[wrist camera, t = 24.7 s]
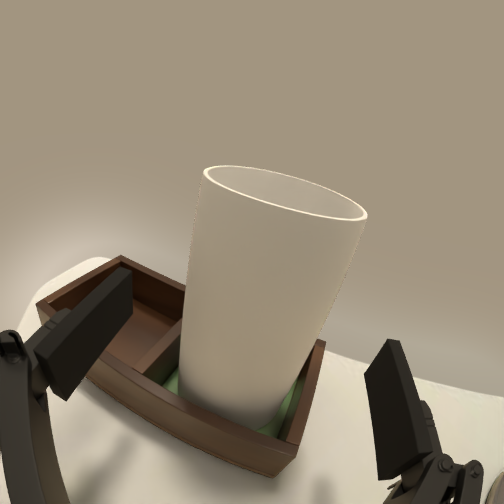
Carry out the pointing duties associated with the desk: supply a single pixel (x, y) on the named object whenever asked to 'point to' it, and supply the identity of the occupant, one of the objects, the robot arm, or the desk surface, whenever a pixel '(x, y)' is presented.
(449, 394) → the desk surface
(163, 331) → the holder
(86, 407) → the desk surface
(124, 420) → the desk surface
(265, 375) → the cup
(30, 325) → the desk surface
